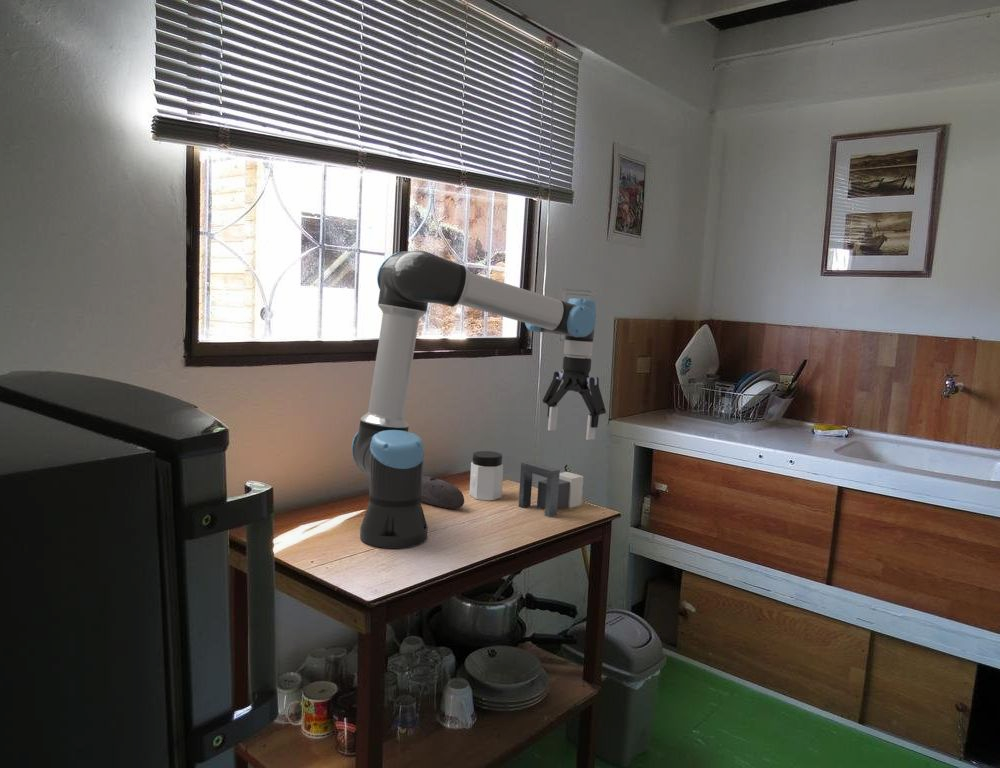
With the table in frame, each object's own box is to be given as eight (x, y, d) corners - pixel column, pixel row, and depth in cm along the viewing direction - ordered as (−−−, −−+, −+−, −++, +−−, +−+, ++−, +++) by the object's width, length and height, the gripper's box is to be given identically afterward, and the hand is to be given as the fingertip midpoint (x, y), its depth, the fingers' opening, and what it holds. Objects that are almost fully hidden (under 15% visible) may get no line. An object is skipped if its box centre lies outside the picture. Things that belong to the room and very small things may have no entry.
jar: (465, 493, 199) (467, 451, 197) (490, 490, 203) (493, 449, 201) (479, 502, 191) (481, 458, 190) (505, 499, 195) (508, 456, 193)
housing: (549, 517, 181) (552, 471, 180) (518, 506, 189) (521, 462, 188) (556, 515, 183) (559, 469, 182) (526, 504, 191) (529, 461, 190)
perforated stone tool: (469, 510, 184) (470, 484, 183) (456, 514, 180) (457, 487, 179) (425, 498, 192) (426, 473, 191) (412, 502, 188) (413, 476, 187)
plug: (552, 512, 186) (554, 482, 185) (535, 506, 190) (537, 477, 189) (584, 503, 195) (587, 475, 194) (568, 498, 199) (570, 470, 198)
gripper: (623, 361, 183) (616, 442, 186) (552, 352, 201) (546, 425, 203) (606, 361, 178) (598, 444, 180) (534, 351, 196) (528, 427, 198)
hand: (570, 434), depth 192 cm, fingers open, 13 cm apart
